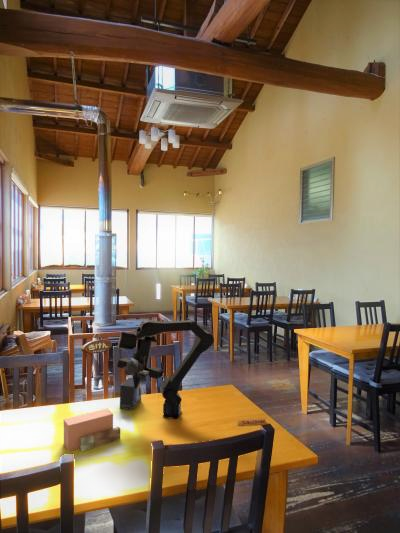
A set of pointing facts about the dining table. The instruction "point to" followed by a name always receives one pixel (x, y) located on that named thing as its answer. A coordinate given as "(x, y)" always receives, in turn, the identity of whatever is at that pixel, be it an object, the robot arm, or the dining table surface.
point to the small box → (129, 394)
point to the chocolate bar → (251, 421)
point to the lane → (99, 438)
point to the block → (86, 426)
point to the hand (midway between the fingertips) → (136, 388)
